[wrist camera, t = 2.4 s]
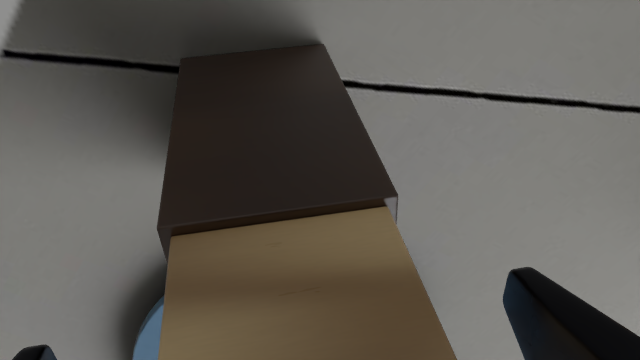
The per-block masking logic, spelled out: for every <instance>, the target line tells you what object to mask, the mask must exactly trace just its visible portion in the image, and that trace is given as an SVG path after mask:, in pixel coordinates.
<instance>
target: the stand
mask: <svg viewBox="0 0 640 360" xmlns="http://www.w3.org/2000/svg"><path fill="white" fill-rule="evenodd" d="M384 206H386V207H388V208H389V210H390V212H391V215H392V217H393V219H394V221H395V223H396V224H397V207H398V194H397V192H396V190H395V188H394V186H393V184H392V182H391V180H390V178H389V176H388V174H387V172H386V170H385V167H384V165H383V163H382V161H381V159H380V157H379V155H378V153H377V151H376V149H375V147H374V145H373V143H372V141H371V139H370V137H369V135H368V133H367V131H366V129H365V127H364V125H363V123H362V121H361V119H360V117H359V115H358V113H357V111H356V109H355V107H354V105H353V103H352V101H351V99H350V96H349V94H348V92H347V90H346V88H345V86H344V84H343V82H342V80H341V78H340V76H339V74H338V72H337V70H336V68H335V66H334V64H333V62H332V60H331V58H330V56H329V54H328V52H327V50H326V48H325V46H324V44H318V45H308V46H298V47H288V48H278V49H269V50H259V51H249V52H239V53H229V54H219V55H210V56H200V57H190V58H182V59H181V60H180V67H179V75H178V82H177V89H176V96H175V103H174V110H173V117H172V124H171V131H170V138H169V145H168V153H167V160H166V167H165V174H164V181H163V188H162V195H161V202H160V209H159V216H158V223H157V231H158V234H159V238H160V241H161V244H162V248H163V251H164V255H165V258H166V261H167V265H168V257H169V248H170V239H171V237H172V236H177V235H184V234H192V233H199V232H206V231H213V230H220V229H227V228H234V227H242V226H249V225H256V224H263V223H270V222H277V221H284V220H292V219H299V218H306V217H313V216H320V215H327V214H334V213H342V212H349V211H356V210H363V209H370V208H377V207H384Z"/></svg>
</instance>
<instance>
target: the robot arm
mask: <svg viewBox="0 0 640 360" xmlns="http://www.w3.org/2000/svg"><path fill="white" fill-rule="evenodd" d="M503 304H504V308H505V311H506V313H507V316H508V318H509V321H510V323H511V326H512V328H513V331H514V333H515V336H516V338H517V341H518V343H519V346H520V349H521V351H522V354H523V356H524V359H525V360H640V337H639V336H637V335H636V334H634V333H633V332H631V331H630V330H628V329H627V328H625V327H624V326H622V325H620V324H619V323H617V322H616V321H614V320H613V319H611V318H610V317H608V316H606V315H605V314H603V313H602V312H600V311H599V310H597V309H596V308H594V307H592V306H591V305H589V304H588V303H586V302H585V301H583V300H582V299H580V298H578V297H577V296H575V295H574V294H572V293H571V292H569V291H568V290H566V289H564V288H563V287H561V286H560V285H558V284H557V283H555V282H554V281H552V280H551V279H549V278H547V277H546V276H544V275H543V274H541V273H540V272H538V271H537V270H535V269H533V268H531V267H524V268H518V269H513V270H511V271H510V272H509V274H508V278H507V282H506V286H505V290H504V294H503ZM12 360H57V359H56V357H55V355H54V353H53V352H52V350H51V348H50V347H49V346H47V345H38V346H31V347H26V348H24V349H22V350H21V351H20V352H19V353H18V354H17V355H16V356H15V357H14V358H13V359H12Z"/></svg>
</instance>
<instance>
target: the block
mask: <svg viewBox="0 0 640 360" xmlns="http://www.w3.org/2000/svg"><path fill="white" fill-rule="evenodd" d="M158 360H457V358H456V356H455V354H454V352H453V350H452V347H451V345H450V343H449V341H448V339H447V336H446V334H445V332H444V330H443V327H442V325H441V323H440V321H439V319H438V316H437V314H436V312H435V310H434V308H433V305H432V303H431V301H430V299H429V296H428V294H427V292H426V290H425V288H424V285H423V283H422V281H421V279H420V277H419V274H418V272H417V270H416V268H415V265H414V263H413V261H412V259H411V257H410V254H409V252H408V250H407V248H406V246H405V243H404V241H403V239H402V237H401V234H400V232H399V230H398V228H397V226H396V223H395V221H394V219H393V217H392V215H391V212H390V210H389V208H388V207H386V206H384V207H377V208H370V209H363V210H356V211H349V212H342V213H334V214H327V215H320V216H313V217H306V218H299V219H292V220H284V221H277V222H270V223H263V224H256V225H249V226H242V227H234V228H227V229H220V230H213V231H206V232H199V233H192V234H184V235H177V236H172V237H171V239H170V248H169V257H168V267H167V276H166V286H165V296H164V305H163V315H162V324H161V334H160V343H159V353H158Z"/></svg>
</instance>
